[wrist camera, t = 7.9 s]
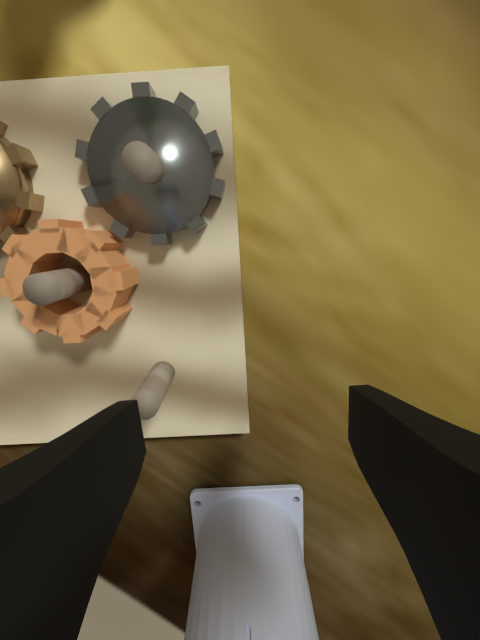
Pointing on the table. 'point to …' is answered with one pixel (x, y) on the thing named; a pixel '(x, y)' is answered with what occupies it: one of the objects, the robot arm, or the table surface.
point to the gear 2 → (171, 146)
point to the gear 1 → (16, 187)
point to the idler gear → (45, 255)
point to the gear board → (146, 297)
